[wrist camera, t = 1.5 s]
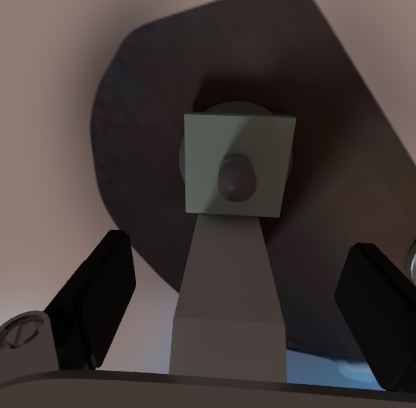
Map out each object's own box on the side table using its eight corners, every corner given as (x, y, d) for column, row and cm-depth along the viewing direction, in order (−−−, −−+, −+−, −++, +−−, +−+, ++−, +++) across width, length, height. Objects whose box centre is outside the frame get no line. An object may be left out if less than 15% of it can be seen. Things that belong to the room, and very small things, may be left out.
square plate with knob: (289, 115, 23) (310, 123, 17) (274, 206, 27) (287, 238, 21) (188, 111, 24) (175, 119, 18) (189, 201, 28) (179, 232, 22)
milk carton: (198, 211, 29) (157, 385, 12) (258, 213, 29) (303, 397, 12) (199, 259, 32) (167, 451, 15) (253, 261, 32) (283, 463, 15)
